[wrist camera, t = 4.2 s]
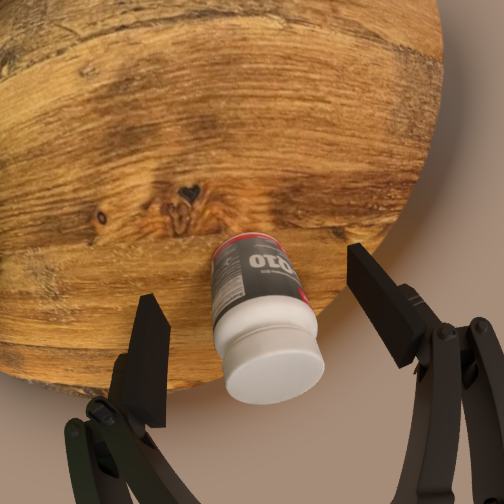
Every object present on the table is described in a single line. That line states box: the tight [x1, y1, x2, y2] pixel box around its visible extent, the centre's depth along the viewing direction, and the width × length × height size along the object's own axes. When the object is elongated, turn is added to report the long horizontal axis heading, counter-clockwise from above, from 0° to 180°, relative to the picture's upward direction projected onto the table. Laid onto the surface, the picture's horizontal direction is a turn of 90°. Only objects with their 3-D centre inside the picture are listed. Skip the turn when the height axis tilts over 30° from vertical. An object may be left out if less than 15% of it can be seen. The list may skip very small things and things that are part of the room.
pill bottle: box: [210, 232, 325, 404], centre depth 13 cm, size 5×5×8 cm
